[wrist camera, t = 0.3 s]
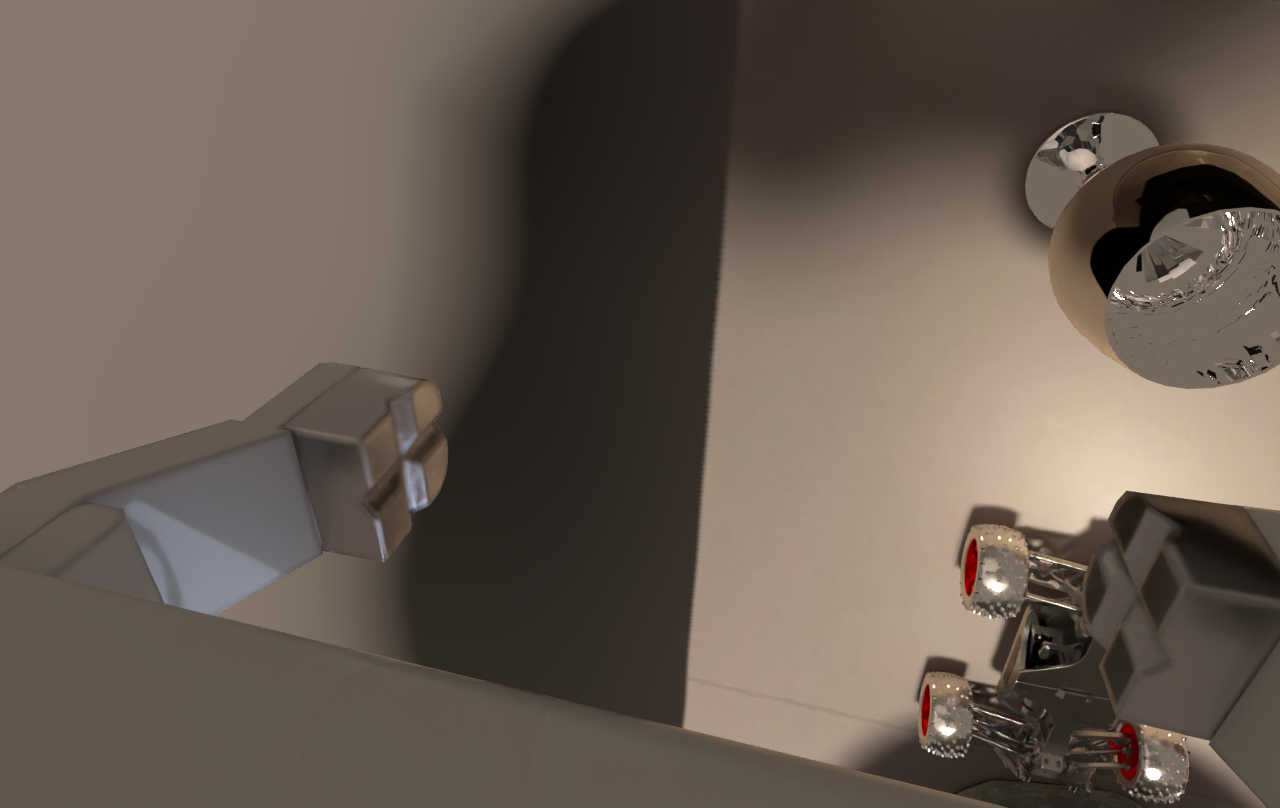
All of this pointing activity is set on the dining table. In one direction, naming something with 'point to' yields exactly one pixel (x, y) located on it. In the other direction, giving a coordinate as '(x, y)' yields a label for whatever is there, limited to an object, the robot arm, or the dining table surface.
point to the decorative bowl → (1043, 796)
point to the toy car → (1044, 682)
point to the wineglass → (1162, 249)
